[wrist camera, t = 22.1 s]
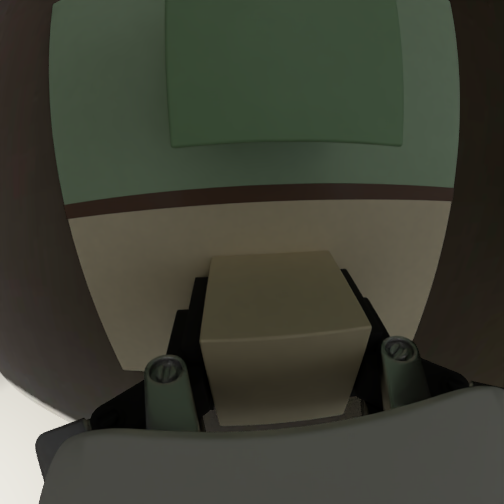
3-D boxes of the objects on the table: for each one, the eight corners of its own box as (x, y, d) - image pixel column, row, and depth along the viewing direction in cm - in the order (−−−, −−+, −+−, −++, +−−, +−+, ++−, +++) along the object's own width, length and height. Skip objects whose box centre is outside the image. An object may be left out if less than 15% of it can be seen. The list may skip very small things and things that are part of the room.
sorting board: (124, 365, 14) (122, 370, 14) (57, 6, 6) (52, 3, 6) (406, 344, 15) (409, 349, 14) (444, 2, 6) (450, 0, 6)
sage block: (200, 133, 9) (169, 149, 5) (195, 10, 7) (166, -53, 3) (335, 130, 9) (404, 148, 5) (330, 11, 7) (389, -41, 3)
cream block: (222, 342, 13) (219, 426, 9) (211, 256, 11) (198, 341, 7) (319, 335, 13) (343, 415, 9) (329, 249, 11) (373, 326, 7)
